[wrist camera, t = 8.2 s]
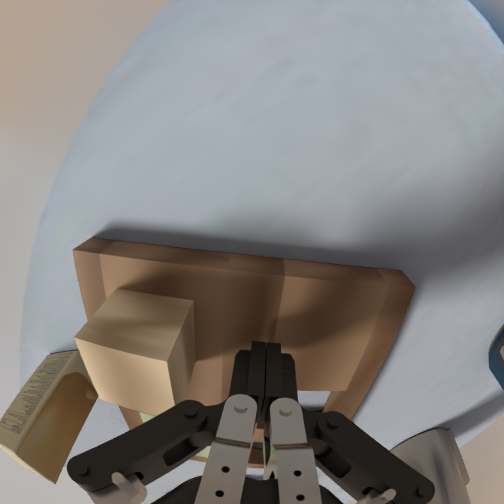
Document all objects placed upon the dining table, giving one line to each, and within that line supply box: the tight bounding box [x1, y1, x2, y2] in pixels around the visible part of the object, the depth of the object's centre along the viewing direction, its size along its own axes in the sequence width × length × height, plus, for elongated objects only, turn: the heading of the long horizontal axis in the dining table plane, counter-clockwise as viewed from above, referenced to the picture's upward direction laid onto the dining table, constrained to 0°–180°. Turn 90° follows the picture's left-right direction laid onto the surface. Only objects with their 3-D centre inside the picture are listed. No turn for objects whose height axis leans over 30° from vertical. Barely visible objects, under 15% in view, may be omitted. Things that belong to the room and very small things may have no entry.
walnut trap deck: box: [73, 238, 416, 468], centre depth 18 cm, size 19×23×2 cm
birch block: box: [74, 288, 196, 416], centre depth 12 cm, size 4×4×4 cm
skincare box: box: [0, 350, 98, 484], centre depth 15 cm, size 6×4×12 cm
